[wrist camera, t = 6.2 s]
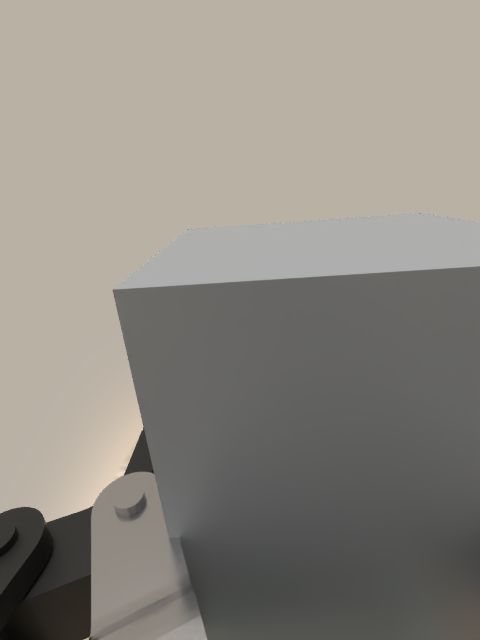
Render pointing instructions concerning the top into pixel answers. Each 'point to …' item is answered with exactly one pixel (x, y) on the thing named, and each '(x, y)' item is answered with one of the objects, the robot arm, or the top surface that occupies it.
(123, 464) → the top surface
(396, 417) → the cover
